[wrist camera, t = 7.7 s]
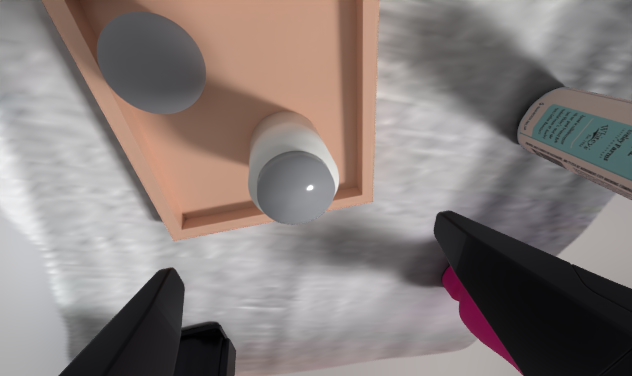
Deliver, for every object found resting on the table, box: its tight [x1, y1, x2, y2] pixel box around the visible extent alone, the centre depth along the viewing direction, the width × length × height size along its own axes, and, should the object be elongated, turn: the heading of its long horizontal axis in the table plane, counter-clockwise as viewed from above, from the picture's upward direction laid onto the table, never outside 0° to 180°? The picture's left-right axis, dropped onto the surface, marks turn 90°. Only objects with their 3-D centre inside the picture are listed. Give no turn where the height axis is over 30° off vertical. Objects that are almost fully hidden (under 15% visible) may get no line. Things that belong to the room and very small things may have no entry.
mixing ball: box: [97, 11, 206, 114], centre depth 11 cm, size 4×4×4 cm
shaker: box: [248, 111, 339, 225], centre depth 14 cm, size 4×4×6 cm
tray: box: [41, 0, 379, 241], centre depth 15 cm, size 14×14×2 cm
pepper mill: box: [442, 265, 524, 376], centre depth 21 cm, size 7×7×20 cm
